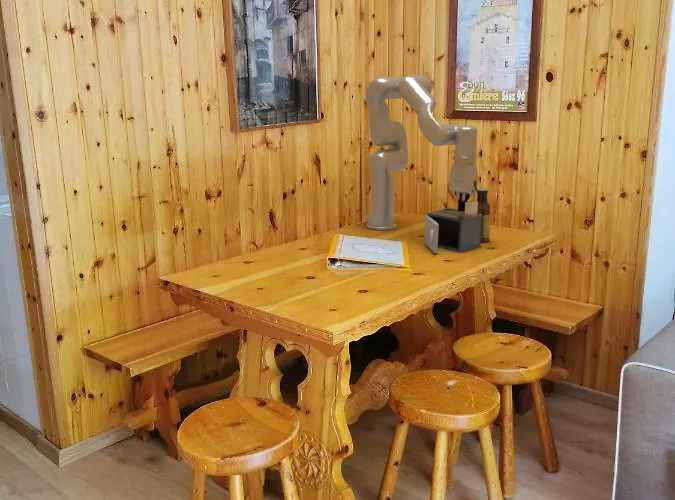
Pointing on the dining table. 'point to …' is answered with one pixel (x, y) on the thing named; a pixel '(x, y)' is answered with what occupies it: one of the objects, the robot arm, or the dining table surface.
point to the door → (431, 234)
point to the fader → (471, 207)
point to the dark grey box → (457, 229)
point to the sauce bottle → (484, 213)
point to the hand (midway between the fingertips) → (462, 210)
